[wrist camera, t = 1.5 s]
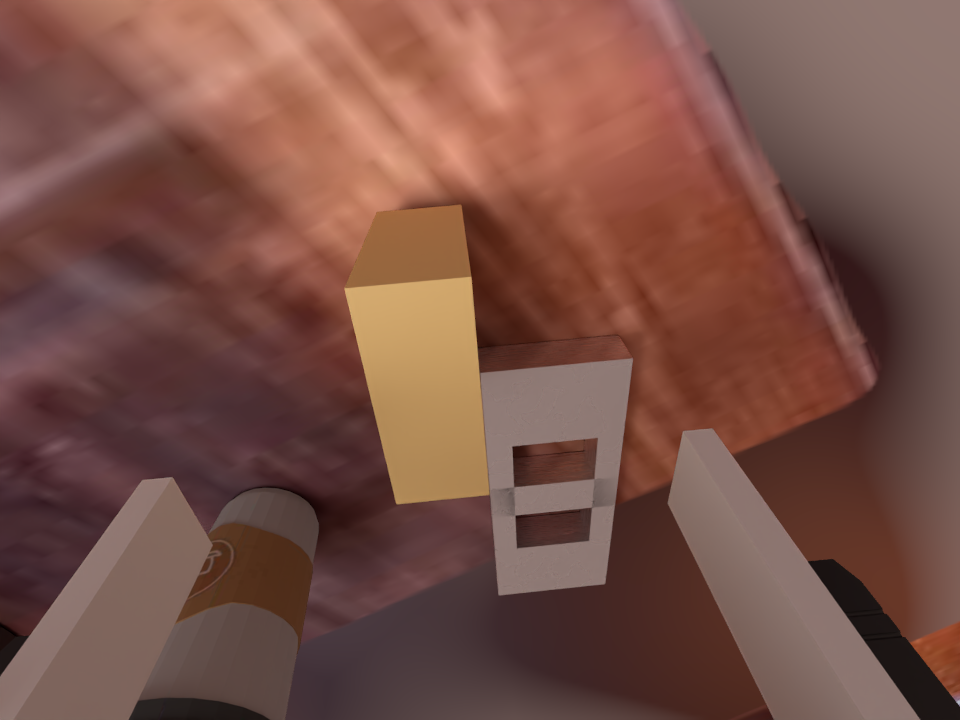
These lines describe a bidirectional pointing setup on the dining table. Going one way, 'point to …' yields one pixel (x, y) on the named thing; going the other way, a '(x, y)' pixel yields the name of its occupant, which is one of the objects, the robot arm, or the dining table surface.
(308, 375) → the dining table surface
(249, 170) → the dining table surface
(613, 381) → the grey slotted base plate
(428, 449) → the yellow block
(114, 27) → the dining table surface
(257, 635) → the coffee cup
